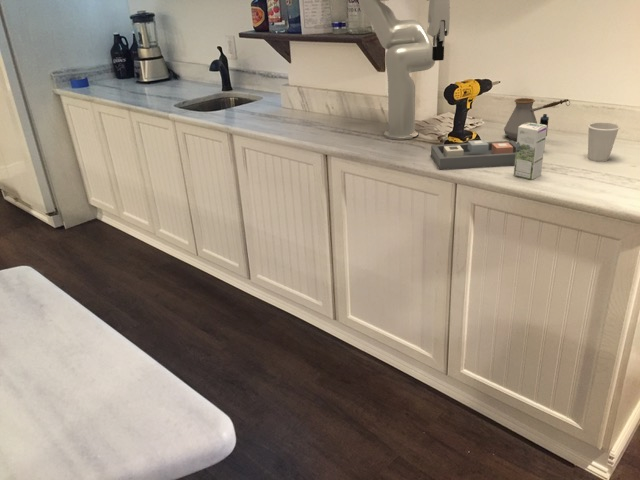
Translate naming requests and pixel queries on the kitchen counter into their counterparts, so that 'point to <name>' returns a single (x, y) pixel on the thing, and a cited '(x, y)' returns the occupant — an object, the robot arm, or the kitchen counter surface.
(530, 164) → the syrup box
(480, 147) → the key slate
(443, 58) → the robot arm
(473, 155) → the keypad base
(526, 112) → the coffee pot
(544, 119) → the vaping device
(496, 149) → the key coral
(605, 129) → the dixie cup
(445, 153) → the key ivory
